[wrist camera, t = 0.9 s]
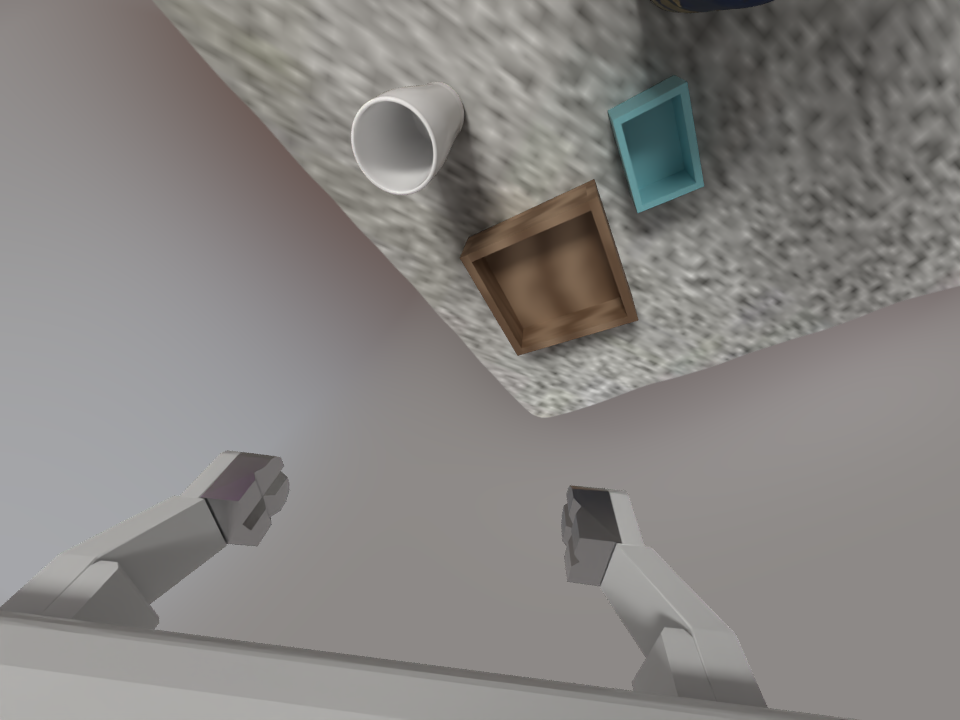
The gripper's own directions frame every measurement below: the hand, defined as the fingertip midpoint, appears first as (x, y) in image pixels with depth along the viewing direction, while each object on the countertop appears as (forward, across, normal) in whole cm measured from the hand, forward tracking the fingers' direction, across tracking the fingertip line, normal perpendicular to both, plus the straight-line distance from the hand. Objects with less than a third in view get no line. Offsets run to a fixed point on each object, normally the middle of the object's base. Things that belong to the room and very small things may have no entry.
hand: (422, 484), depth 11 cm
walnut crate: (+41, -8, +6) cm, 42 cm away
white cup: (+39, +6, -10) cm, 41 cm away
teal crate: (+38, -15, -9) cm, 42 cm away
